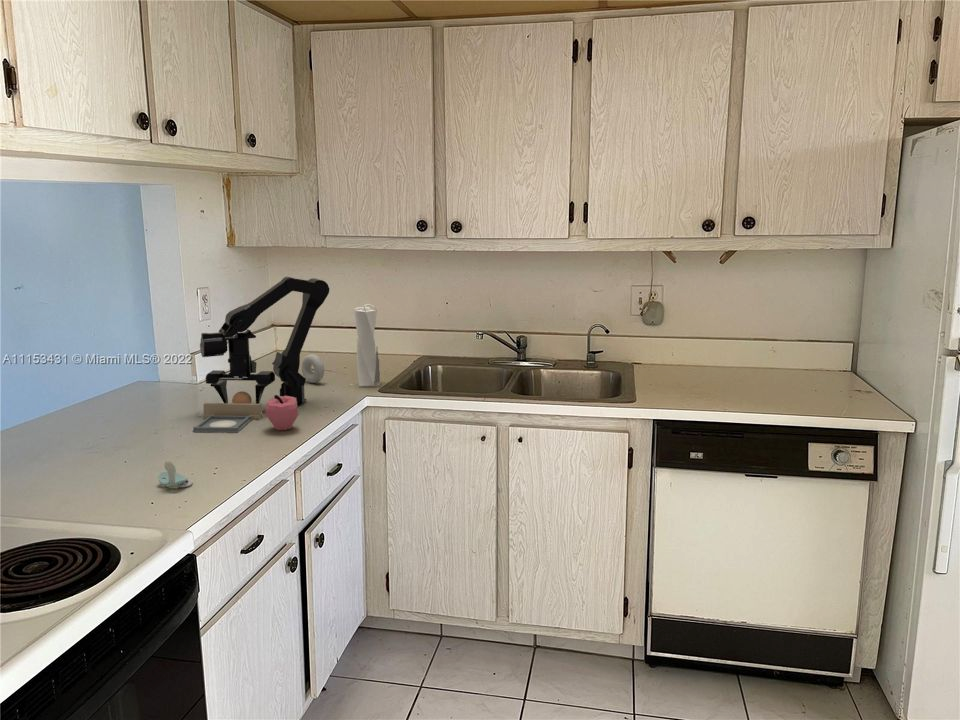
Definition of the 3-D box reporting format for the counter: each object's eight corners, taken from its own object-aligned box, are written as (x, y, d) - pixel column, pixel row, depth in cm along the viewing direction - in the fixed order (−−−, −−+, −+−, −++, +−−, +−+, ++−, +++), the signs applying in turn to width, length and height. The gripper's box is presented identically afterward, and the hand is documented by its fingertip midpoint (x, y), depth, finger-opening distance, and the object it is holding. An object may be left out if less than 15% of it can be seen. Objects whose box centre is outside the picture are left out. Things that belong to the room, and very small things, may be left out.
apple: (298, 433, 192) (296, 397, 190) (264, 435, 190) (262, 398, 188) (300, 423, 201) (299, 388, 199) (268, 424, 200) (266, 389, 198)
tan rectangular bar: (262, 416, 207) (262, 402, 206) (259, 419, 204) (258, 405, 203) (207, 415, 207) (206, 402, 206) (203, 418, 204) (202, 404, 203)
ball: (254, 407, 216) (253, 389, 215) (248, 412, 211) (247, 394, 210) (236, 407, 216) (235, 389, 215) (229, 412, 211) (228, 394, 210)
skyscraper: (380, 387, 241) (378, 304, 235) (355, 388, 240) (353, 304, 234) (380, 381, 249) (378, 301, 243) (356, 382, 248) (354, 301, 242)
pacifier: (182, 478, 161) (155, 484, 156) (180, 451, 159) (153, 457, 155) (198, 486, 156) (171, 493, 151) (197, 458, 155) (170, 465, 150)
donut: (327, 384, 245) (326, 355, 243) (319, 386, 242) (318, 357, 240) (307, 379, 251) (306, 351, 249) (299, 381, 248) (298, 353, 246)
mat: (251, 419, 204) (251, 415, 203) (237, 432, 192) (237, 428, 192) (209, 419, 204) (209, 415, 203) (192, 432, 192) (192, 427, 192)
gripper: (279, 349, 218) (281, 399, 221) (217, 348, 218) (220, 398, 221) (268, 356, 207) (270, 409, 210) (203, 355, 207) (206, 408, 210)
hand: (242, 405), depth 213 cm, fingers open, 9 cm apart
